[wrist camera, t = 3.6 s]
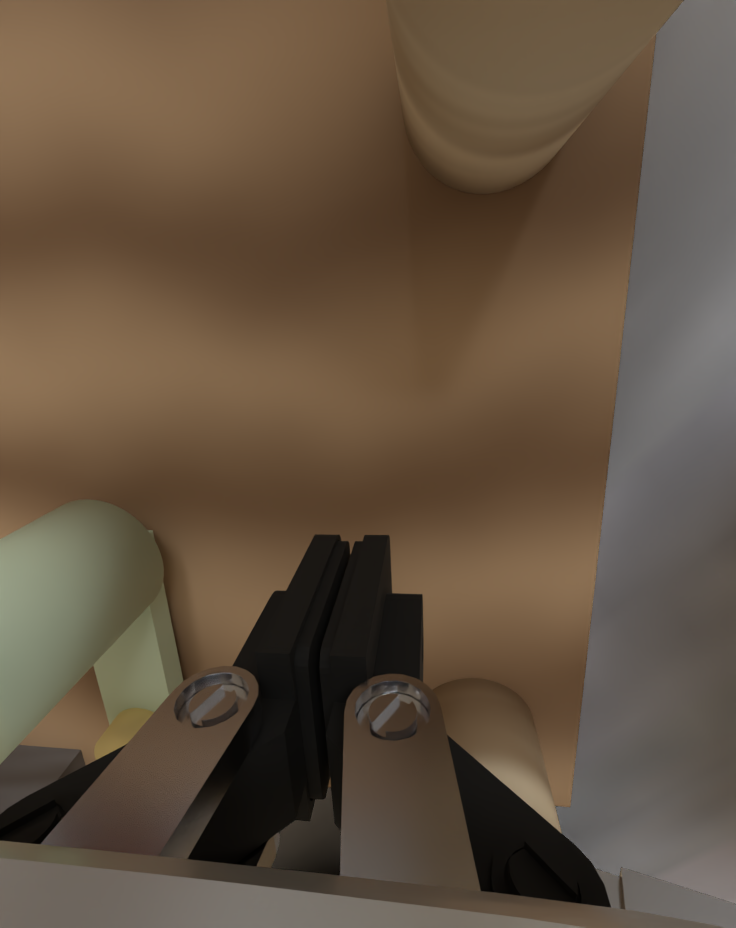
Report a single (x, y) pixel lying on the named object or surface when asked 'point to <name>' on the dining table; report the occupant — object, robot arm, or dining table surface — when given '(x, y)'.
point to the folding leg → (83, 620)
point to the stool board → (329, 321)
